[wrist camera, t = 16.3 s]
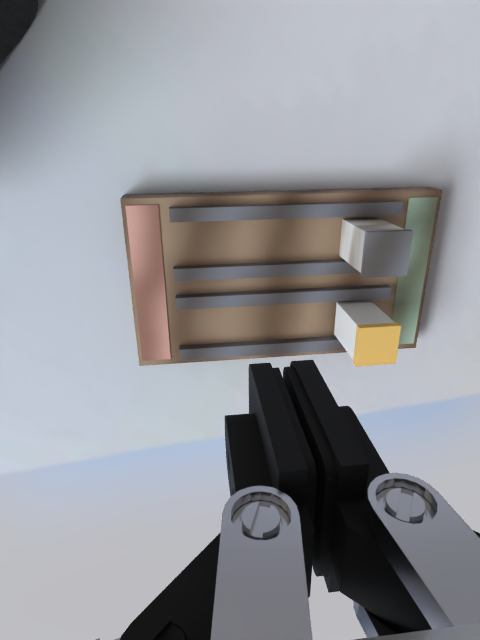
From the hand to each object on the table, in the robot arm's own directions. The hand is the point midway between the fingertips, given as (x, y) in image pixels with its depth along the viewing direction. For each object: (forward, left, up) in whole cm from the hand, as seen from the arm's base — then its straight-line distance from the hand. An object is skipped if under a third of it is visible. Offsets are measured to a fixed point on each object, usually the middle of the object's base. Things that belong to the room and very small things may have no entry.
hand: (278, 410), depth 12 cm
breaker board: (-6, +5, -26) cm, 27 cm away
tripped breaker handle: (-12, +8, -24) cm, 28 cm away
